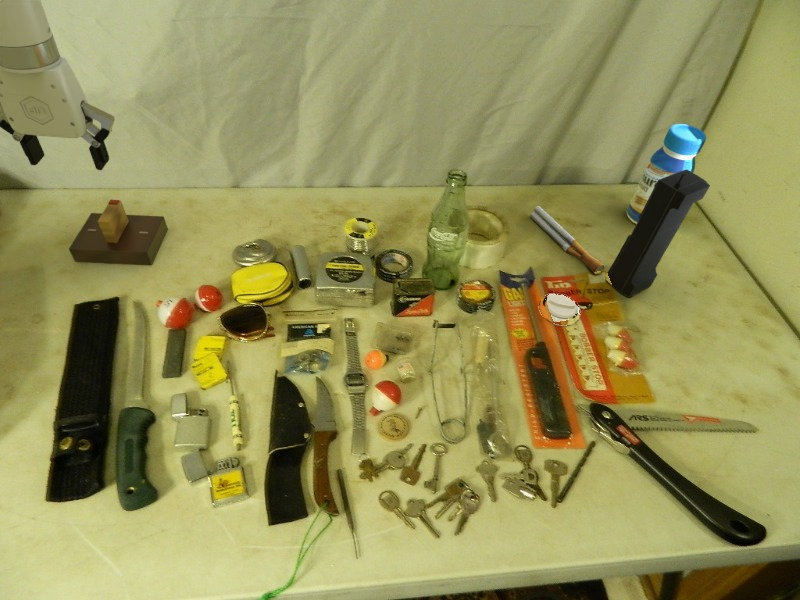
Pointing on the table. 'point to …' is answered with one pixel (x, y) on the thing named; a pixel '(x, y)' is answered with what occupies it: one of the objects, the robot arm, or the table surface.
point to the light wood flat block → (113, 221)
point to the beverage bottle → (667, 163)
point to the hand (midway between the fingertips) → (70, 162)
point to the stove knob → (561, 308)
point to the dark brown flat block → (120, 241)
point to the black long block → (655, 231)
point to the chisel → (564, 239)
